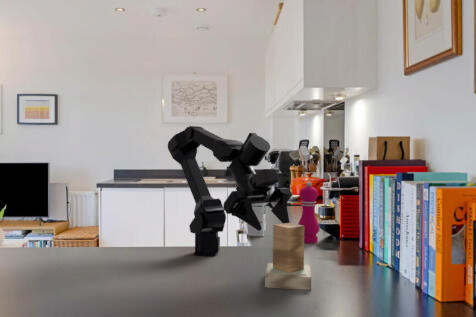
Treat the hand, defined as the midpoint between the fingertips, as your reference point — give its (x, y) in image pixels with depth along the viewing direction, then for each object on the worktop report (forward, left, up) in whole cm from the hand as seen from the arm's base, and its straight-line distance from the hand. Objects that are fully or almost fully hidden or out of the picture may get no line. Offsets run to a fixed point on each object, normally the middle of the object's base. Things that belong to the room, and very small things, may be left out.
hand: (274, 227), depth 100 cm
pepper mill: (+9, +42, -12) cm, 44 cm away
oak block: (+3, -3, -9) cm, 10 cm away
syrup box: (-9, +50, -12) cm, 52 cm away
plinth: (+3, -3, -12) cm, 13 cm away
